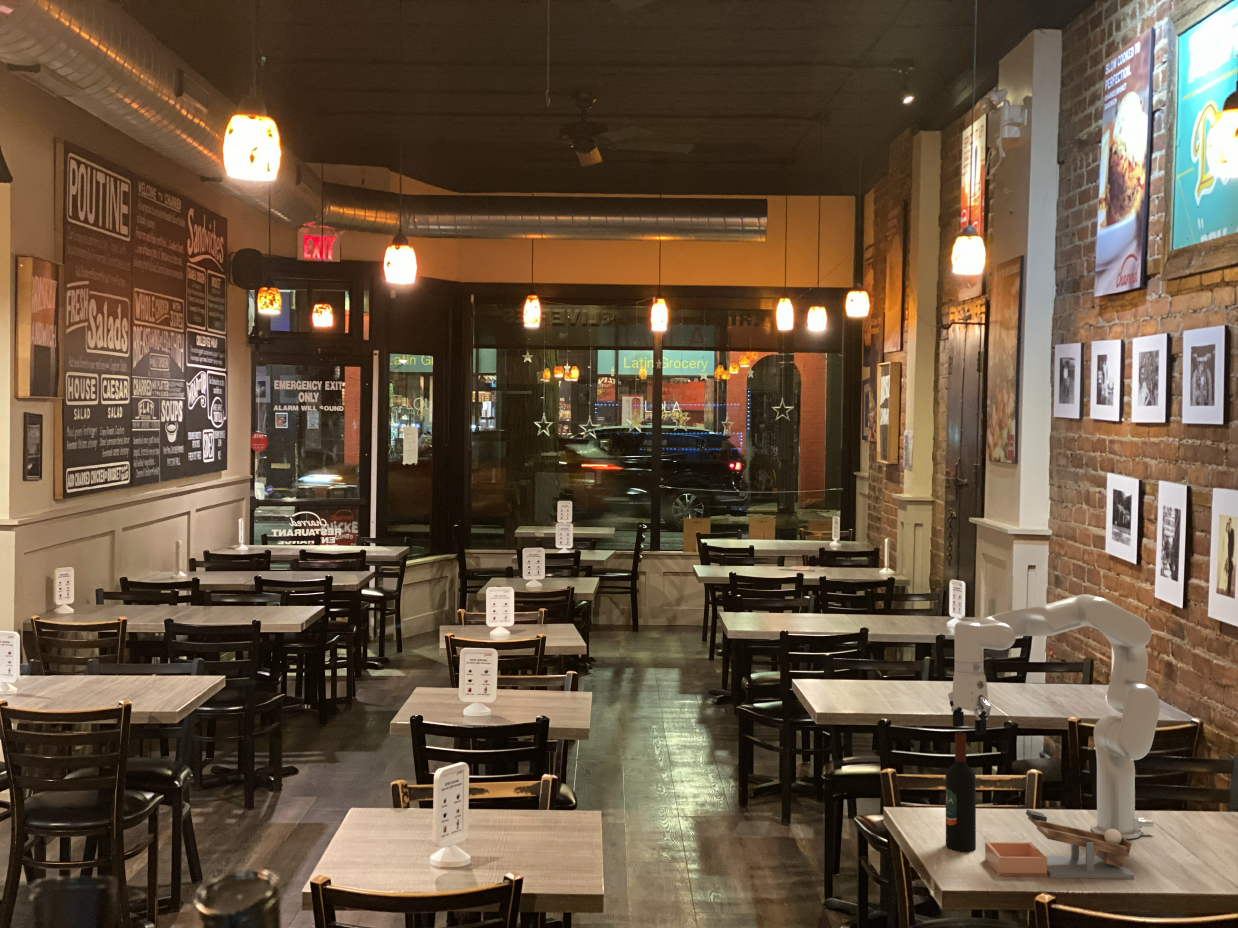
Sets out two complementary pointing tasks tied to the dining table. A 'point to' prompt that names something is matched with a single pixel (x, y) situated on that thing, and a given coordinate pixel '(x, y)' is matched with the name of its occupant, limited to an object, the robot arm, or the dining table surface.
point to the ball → (1113, 836)
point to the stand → (1084, 866)
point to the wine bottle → (960, 801)
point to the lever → (1081, 839)
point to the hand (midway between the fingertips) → (969, 730)
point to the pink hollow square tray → (1015, 859)
